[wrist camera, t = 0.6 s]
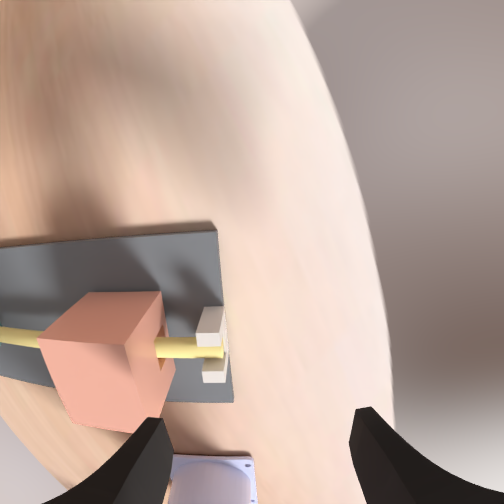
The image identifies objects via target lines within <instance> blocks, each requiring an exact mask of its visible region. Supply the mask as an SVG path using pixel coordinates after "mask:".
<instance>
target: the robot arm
mask: <svg viewBox="0 0 504 504" xmlns="http://www.w3.org/2000/svg"><path fill="white" fill-rule="evenodd" d="M349 446H350V451H351V456H352V461H353V465H354V468H355V471H356V474H357V477H358V480H359V483H360V485H361V488H362V491H363V494H364V497H365V500H366V503H367V504H504V493H503V492H498V491H494V490H491V489H487V488H484V487H481V486H478V485H475V484H472V483H470V482H468V481H465V480H463V479H461V478H459V477H457V476H455V475H453V474H451V473H449V472H447V471H445V470H444V469H442V468H440V467H439V466H437V465H436V464H434V463H433V462H431V461H430V460H428V459H427V458H426V457H424V456H423V455H422V454H420V453H419V452H418V451H417V450H415V449H414V448H413V447H412V446H411V445H410V444H408V443H407V442H406V441H405V440H404V439H403V438H402V437H401V436H400V435H399V434H397V433H396V432H395V431H394V430H393V429H392V428H391V427H390V426H389V425H388V424H387V423H386V422H385V420H384V419H383V418H382V417H381V416H380V415H379V414H378V413H377V412H376V411H375V410H374V409H373V408H372V407H366V408H360V409H356V410H355V415H354V420H353V425H352V430H351V435H350V440H349ZM173 453H174V450H173V447H172V444H171V441H170V439H169V436H168V433H167V430H166V427H165V424H164V421H163V418H155V417H147V418H146V419H145V420H144V421H143V423H142V424H141V425H140V426H139V427H138V428H137V430H136V431H135V432H134V433H133V434H132V435H131V436H130V438H129V439H128V440H127V441H126V442H125V443H124V444H123V445H122V446H121V447H120V449H119V450H118V451H117V452H116V453H115V454H114V455H113V456H112V457H111V458H110V459H109V460H108V461H106V462H105V463H104V464H103V465H102V466H101V467H100V468H99V469H98V470H97V471H95V472H94V473H93V474H92V475H90V476H89V477H88V478H86V479H85V480H84V481H82V482H81V483H79V484H78V485H76V486H75V487H73V488H72V489H70V490H68V491H67V492H65V493H63V494H62V495H60V496H58V497H56V498H54V499H52V500H49V501H47V502H45V503H43V504H162V503H163V500H164V496H165V493H166V489H167V485H168V482H169V478H171V480H172V486H171V490H170V495H169V499H168V504H258V500H257V490H256V480H255V470H254V460H253V458H252V457H250V456H195V455H179V454H173Z"/></svg>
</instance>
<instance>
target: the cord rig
mask: <svg viewBox="0 0 504 504" xmlns="http://www.w3.org/2000/svg"><path fill="white" fill-rule="evenodd" d="M142 291H161V294H162V300H163V306H164V312H165V317H166V323H167V328H168V334H169V337H156V338H155V340H154V345H155V350H156V354H157V358H173V359H174V363H175V368H176V371H175V374H174V376H173V379H172V382H171V385H170V388H169V391H168V394H167V396H166V399H165V401H171V402H200V403H233V402H234V394H233V385H232V377H231V368H230V359H229V346H228V337H227V327H226V317H225V307H224V301H223V291H222V280H221V268H220V257H219V245H218V233H217V230H207V231H192V232H176V233H162V234H148V235H134V236H121V237H109V238H97V239H85V240H73V241H62V242H51V243H40V244H30V245H20V246H10V247H1V248H0V375H1V376H5V377H9V378H12V379H16V380H21V381H25V382H29V383H34V384H38V385H43V386H48V387H53V388H56V387H55V385H54V382H53V380H52V378H51V375H50V373H49V370H48V368H47V365H46V363H45V360H44V358H43V355H42V352H41V350H40V347H39V344H38V341H37V337H38V336H39V335H40V334H41V333H42V332H44V331H45V330H46V329H47V328H48V327H49V326H50V325H51V324H52V323H54V322H55V321H56V320H57V319H58V318H59V317H60V316H62V315H63V314H64V313H65V312H66V311H67V310H68V309H70V308H71V307H72V306H73V305H74V304H75V303H77V302H78V301H79V300H80V299H81V298H82V297H84V296H85V295H86V294H87V293H88V292H142Z"/></svg>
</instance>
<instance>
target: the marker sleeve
mask: <svg viewBox="0 0 504 504" xmlns="http://www.w3.org/2000/svg"><path fill="white" fill-rule="evenodd" d="M156 337H169V334H168V328H167V323H166V317H165V312H164V306H163V300H162V294H161V291H142V292H88V293H87V294H86V295H85V296H84V297H82V298H81V299H80V300H79V301H78V302H77V303H75V304H74V305H73V306H72V307H71V308H70V309H68V310H67V311H66V312H65V313H64V314H63V315H62V316H60V317H59V318H58V319H57V320H56V321H55V322H54V323H52V324H51V325H50V326H49V327H48V328H47V329H46V330H45V331H44V332H42V333H41V334H40V335H39V336H38V337H37V341H38V344H39V347H40V350H41V352H42V355H43V358H44V360H45V363H46V365H47V368H48V370H49V373H50V375H51V378H52V380H53V382H54V385H55V387H56V389H57V391H58V394H59V396H60V398H61V400H62V402H63V404H64V407H65V409H66V411H67V413H68V415H69V417H70V419H71V421H72V423H75V424H80V425H85V426H90V427H95V428H101V429H107V430H113V431H120V432H127V433H134V432H135V431H136V430H137V428H138V427H139V426H140V425H141V424H142V423H143V421H144V420H145V419H146V418H147V417H155V418H159V417H160V414H161V411H162V408H163V405H164V402H165V399H166V396H167V394H168V391H169V388H170V385H171V382H172V379H173V376H174V374H175V371H176V368H175V363H174V359H173V358H157V354H156V350H155V345H154V340H155V338H156Z"/></svg>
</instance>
